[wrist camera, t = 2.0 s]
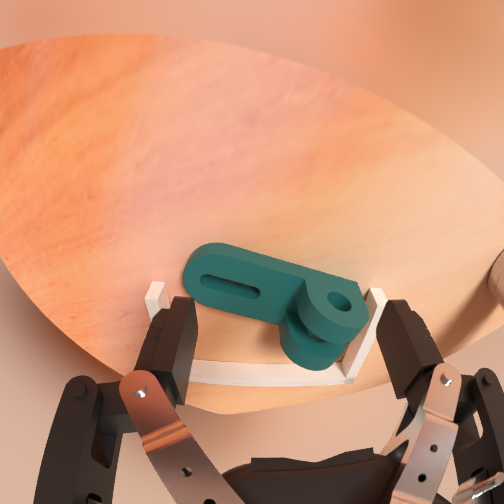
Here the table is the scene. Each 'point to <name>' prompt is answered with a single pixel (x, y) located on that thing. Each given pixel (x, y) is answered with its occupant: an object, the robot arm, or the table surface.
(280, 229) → the table surface
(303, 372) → the white open frame
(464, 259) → the table surface
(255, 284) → the bracket
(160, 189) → the table surface
